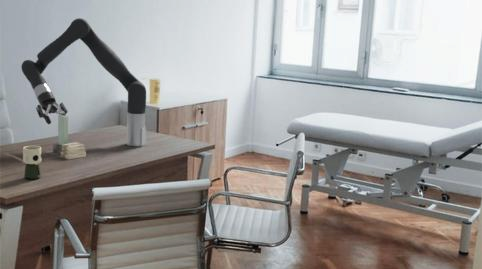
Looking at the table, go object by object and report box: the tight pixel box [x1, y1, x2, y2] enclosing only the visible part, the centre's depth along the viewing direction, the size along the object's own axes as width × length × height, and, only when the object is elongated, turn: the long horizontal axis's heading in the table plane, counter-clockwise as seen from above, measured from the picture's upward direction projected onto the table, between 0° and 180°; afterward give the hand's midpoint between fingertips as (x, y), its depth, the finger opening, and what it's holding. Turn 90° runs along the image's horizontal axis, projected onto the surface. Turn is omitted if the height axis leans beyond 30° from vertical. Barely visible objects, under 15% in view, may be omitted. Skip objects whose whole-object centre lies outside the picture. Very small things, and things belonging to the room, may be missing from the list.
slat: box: [57, 114, 69, 146], centre depth 279 cm, size 5×2×18 cm, turn 50°
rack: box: [45, 141, 88, 161], centre depth 278 cm, size 18×12×7 cm, turn 50°
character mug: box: [22, 145, 42, 180], centre depth 241 cm, size 11×7×13 cm, turn 162°
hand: (57, 122), depth 281 cm, fingers open, 8 cm apart
